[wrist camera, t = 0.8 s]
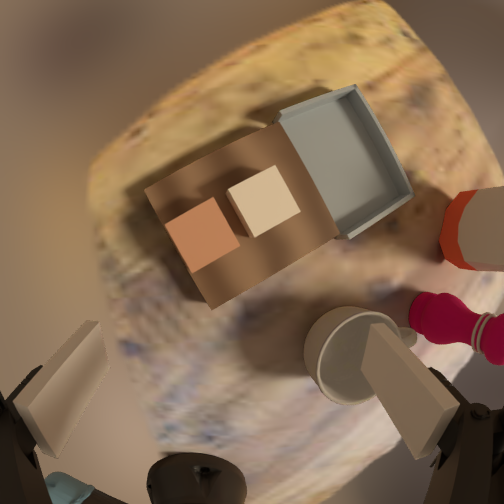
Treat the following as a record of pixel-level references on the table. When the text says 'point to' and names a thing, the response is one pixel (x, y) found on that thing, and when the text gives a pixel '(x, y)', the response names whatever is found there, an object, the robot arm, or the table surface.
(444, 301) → the pepper mill
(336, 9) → the table surface
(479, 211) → the french fries container
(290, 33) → the table surface
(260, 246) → the walnut board
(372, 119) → the tray
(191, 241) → the orange square block
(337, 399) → the teacup
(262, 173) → the cream square block
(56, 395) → the robot arm
